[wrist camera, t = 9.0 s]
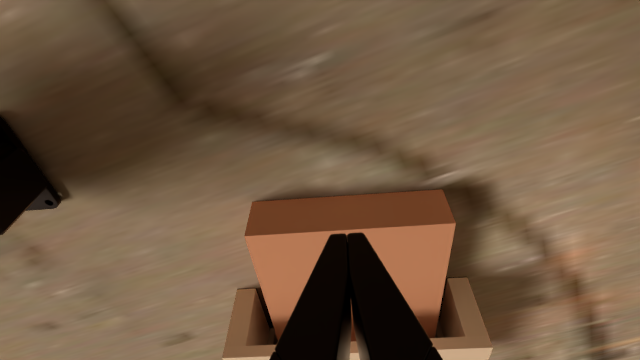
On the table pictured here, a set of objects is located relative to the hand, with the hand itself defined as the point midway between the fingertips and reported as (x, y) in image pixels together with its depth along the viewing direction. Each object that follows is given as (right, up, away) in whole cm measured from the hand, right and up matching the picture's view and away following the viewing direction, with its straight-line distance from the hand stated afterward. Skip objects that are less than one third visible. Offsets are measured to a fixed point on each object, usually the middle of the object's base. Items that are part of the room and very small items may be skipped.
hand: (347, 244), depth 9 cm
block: (+2, -6, +20) cm, 21 cm away
